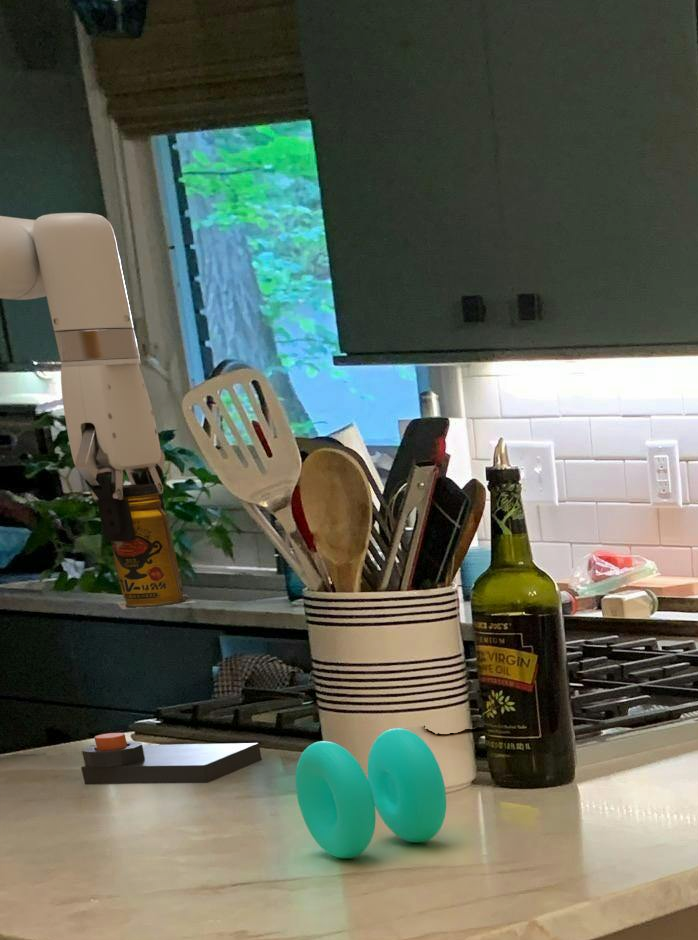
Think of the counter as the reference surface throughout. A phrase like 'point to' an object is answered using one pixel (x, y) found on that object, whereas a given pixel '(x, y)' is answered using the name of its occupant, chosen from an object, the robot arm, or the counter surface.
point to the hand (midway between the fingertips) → (137, 536)
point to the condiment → (148, 554)
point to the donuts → (370, 792)
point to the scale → (166, 762)
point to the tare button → (110, 741)
